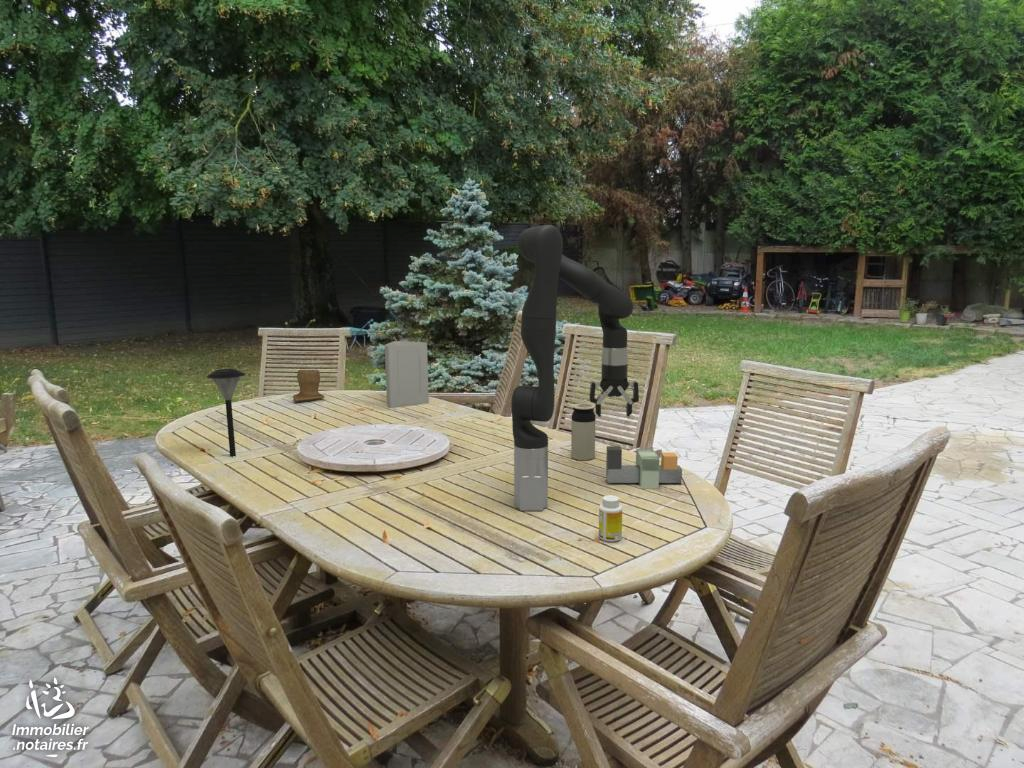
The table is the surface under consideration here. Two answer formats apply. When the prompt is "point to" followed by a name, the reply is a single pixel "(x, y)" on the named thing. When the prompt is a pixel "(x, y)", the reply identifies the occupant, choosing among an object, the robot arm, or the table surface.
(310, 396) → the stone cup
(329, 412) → the table surface
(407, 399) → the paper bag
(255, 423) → the table surface
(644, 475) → the bearing bridge
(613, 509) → the supplement bottle
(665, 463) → the block
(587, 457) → the travel mug
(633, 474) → the grey l-shaped bracket
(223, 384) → the solar garden light
